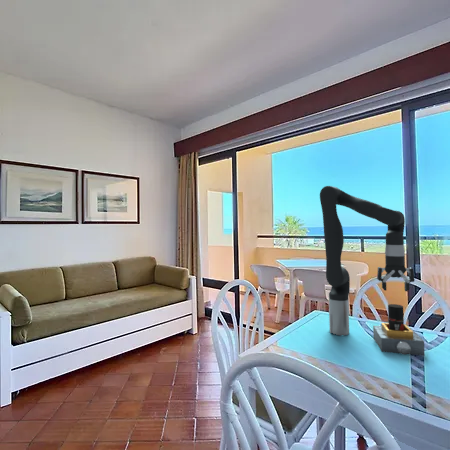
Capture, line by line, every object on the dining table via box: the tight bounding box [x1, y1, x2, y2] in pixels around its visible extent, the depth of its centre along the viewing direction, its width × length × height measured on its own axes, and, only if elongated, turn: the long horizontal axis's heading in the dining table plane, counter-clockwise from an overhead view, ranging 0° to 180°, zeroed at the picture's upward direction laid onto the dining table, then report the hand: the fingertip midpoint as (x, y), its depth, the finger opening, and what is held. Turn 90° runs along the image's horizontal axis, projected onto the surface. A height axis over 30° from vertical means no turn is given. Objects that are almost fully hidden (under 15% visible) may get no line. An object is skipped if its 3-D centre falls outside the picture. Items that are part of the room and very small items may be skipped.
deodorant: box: [387, 303, 405, 331], centre depth 129 cm, size 6×6×15 cm
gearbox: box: [372, 322, 425, 357], centre depth 128 cm, size 16×18×8 cm
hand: (395, 290), depth 129 cm, fingers open, 8 cm apart
